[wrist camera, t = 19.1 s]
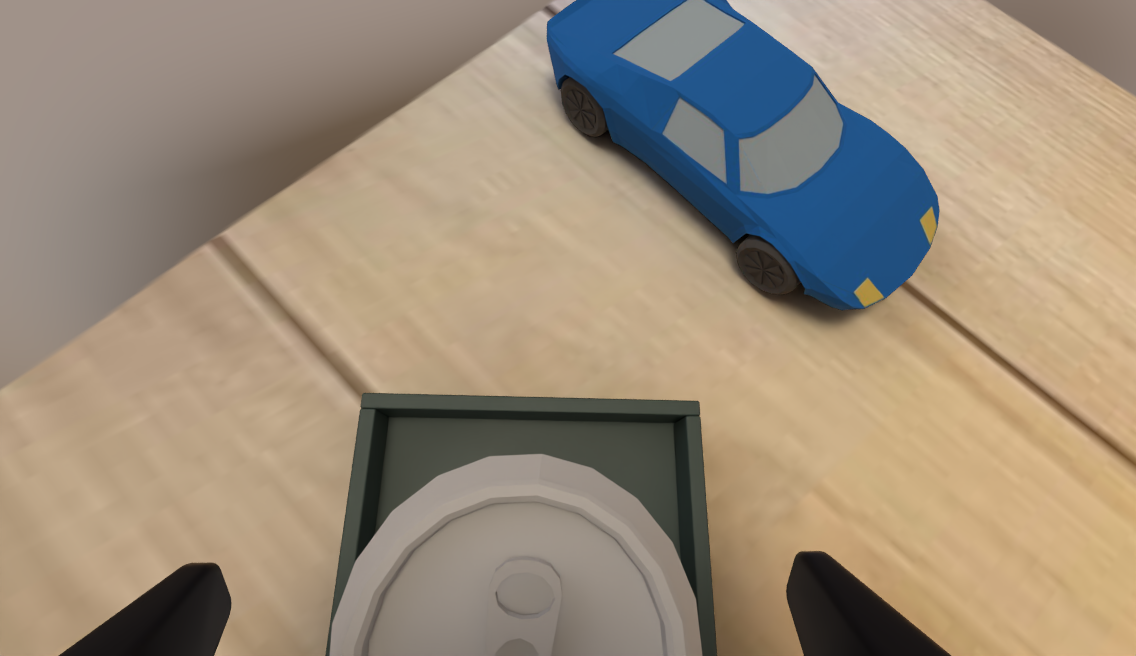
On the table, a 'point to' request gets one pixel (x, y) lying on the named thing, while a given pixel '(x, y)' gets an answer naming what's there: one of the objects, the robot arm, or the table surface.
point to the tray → (535, 426)
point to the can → (518, 570)
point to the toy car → (749, 143)
